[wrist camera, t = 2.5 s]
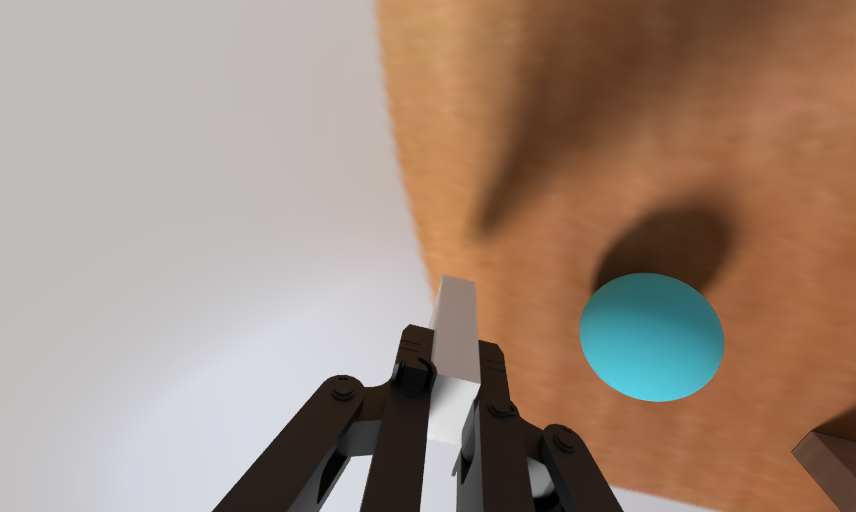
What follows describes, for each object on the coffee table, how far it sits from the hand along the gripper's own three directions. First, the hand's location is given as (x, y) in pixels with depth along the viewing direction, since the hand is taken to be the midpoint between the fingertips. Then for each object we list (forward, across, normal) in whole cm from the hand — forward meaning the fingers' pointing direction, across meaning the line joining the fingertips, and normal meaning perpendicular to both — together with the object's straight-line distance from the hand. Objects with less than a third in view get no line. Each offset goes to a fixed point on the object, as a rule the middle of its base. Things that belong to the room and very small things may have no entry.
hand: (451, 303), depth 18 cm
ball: (+1, +10, 0) cm, 10 cm away
